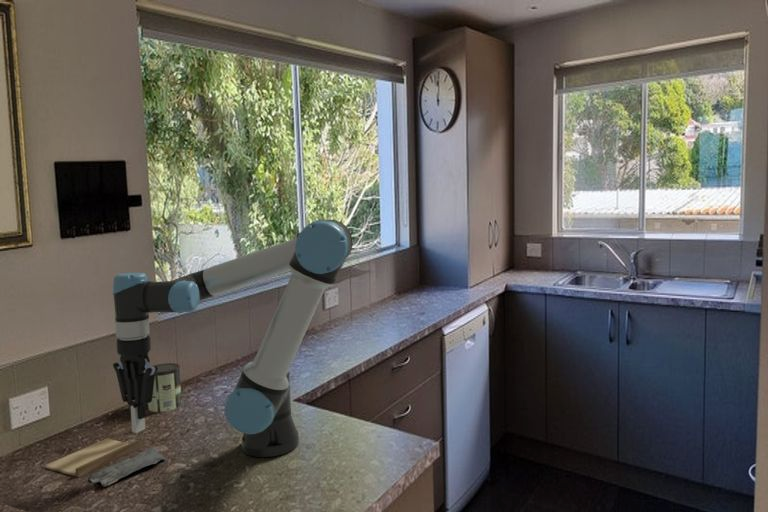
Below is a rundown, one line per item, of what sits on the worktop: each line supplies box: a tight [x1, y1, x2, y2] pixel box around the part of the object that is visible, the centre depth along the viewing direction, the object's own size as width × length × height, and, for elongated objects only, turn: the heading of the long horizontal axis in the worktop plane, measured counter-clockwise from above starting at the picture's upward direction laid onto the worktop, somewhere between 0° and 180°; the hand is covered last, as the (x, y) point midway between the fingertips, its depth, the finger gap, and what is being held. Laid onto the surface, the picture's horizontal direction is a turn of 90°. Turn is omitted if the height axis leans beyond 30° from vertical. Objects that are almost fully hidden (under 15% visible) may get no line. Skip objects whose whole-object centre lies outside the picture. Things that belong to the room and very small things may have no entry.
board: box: [44, 438, 140, 478], centre depth 150 cm, size 13×18×2 cm
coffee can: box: [147, 362, 183, 413], centre depth 183 cm, size 10×10×14 cm
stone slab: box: [89, 446, 166, 488], centre depth 143 cm, size 18×2×10 cm
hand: (138, 430), depth 141 cm, fingers closed
